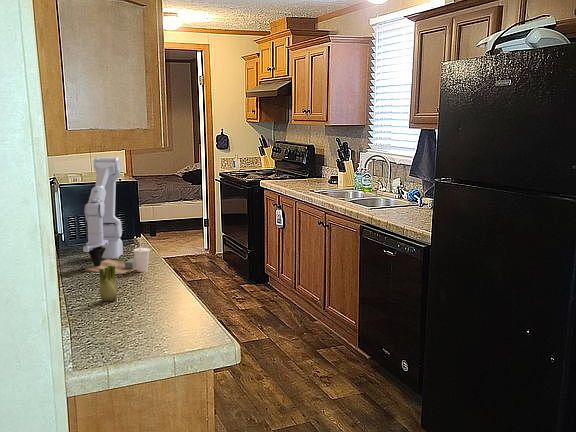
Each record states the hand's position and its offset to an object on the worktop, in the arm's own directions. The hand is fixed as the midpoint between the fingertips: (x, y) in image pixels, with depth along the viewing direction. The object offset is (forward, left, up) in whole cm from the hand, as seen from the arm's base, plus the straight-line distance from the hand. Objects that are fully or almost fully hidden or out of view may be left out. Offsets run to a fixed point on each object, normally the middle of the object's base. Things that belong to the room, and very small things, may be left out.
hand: (97, 265), depth 217 cm
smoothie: (-1, +19, -2) cm, 20 cm away
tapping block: (-5, +12, -1) cm, 14 cm away
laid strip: (-2, +11, -2) cm, 11 cm away
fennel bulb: (+32, +24, -2) cm, 40 cm away
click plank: (-2, +2, -1) cm, 4 cm away
